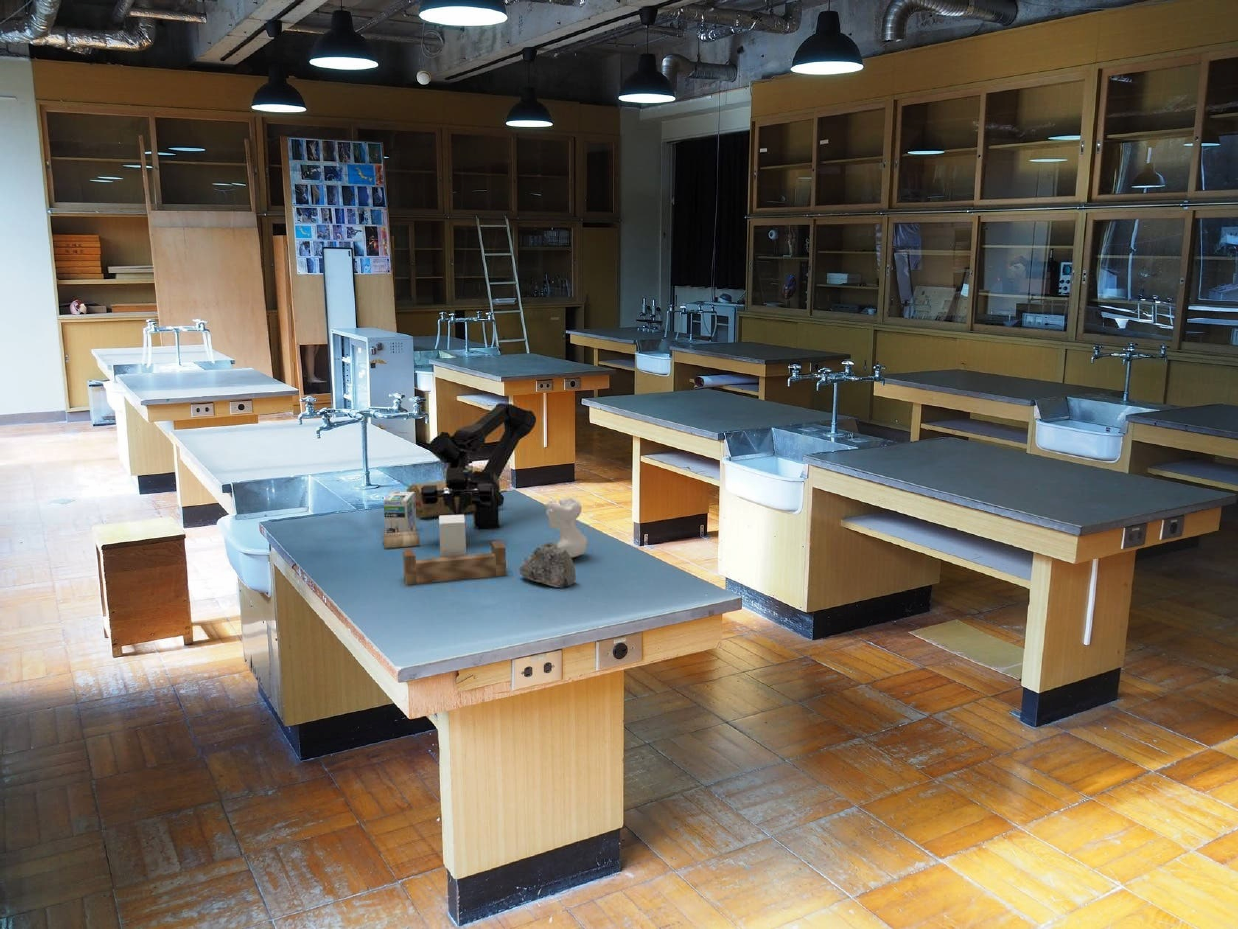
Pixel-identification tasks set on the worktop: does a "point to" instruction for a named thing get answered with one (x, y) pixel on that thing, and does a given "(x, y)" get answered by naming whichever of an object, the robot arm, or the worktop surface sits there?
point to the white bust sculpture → (567, 525)
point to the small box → (452, 535)
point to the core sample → (433, 509)
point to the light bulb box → (400, 512)
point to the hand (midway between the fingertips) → (457, 521)
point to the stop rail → (454, 566)
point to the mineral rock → (549, 566)
